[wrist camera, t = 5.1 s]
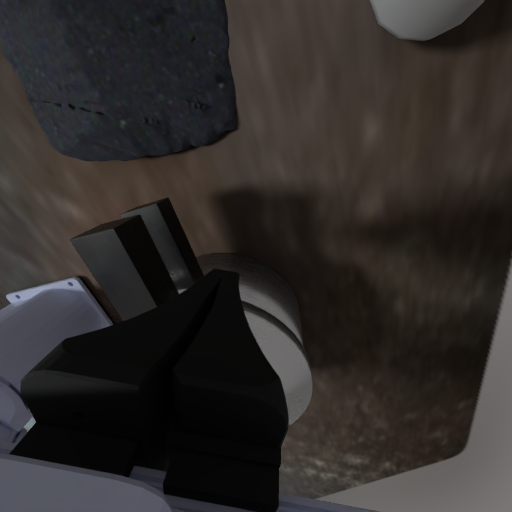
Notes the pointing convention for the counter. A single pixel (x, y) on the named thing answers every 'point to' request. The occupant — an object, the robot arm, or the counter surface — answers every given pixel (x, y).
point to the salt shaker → (422, 16)
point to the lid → (163, 289)
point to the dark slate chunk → (122, 73)
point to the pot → (217, 266)
